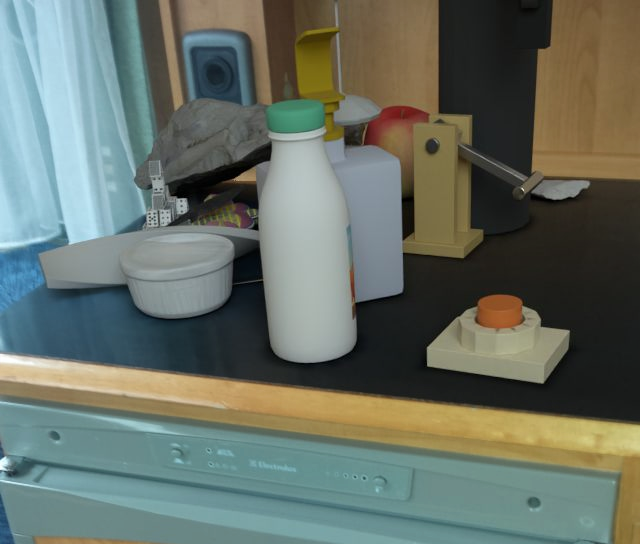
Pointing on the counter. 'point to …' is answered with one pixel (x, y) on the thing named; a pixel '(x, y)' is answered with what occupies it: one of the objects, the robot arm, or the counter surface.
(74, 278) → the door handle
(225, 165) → the stone
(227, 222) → the decorative ornament
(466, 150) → the lever
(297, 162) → the milk bottle
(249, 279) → the knife
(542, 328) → the button block
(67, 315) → the counter surface
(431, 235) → the bracket
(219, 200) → the machete
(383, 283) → the soap bottle
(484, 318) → the button
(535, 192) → the stone
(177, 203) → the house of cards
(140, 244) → the ramekin
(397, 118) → the apple
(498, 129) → the vase
